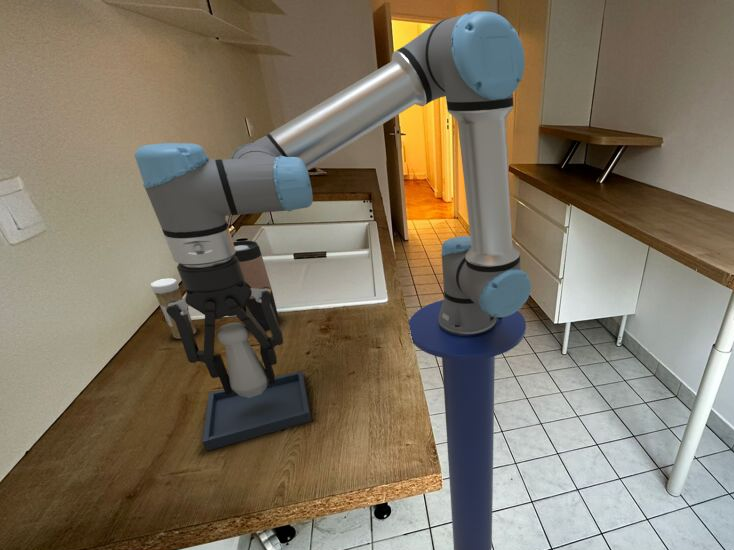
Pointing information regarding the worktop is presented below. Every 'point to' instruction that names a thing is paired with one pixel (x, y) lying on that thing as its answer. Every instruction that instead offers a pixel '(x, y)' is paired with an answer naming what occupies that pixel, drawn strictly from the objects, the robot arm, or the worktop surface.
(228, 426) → the tray
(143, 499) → the worktop surface
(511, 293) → the robot arm
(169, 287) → the sprinkles bottle
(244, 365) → the salt shaker
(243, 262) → the travel mug
